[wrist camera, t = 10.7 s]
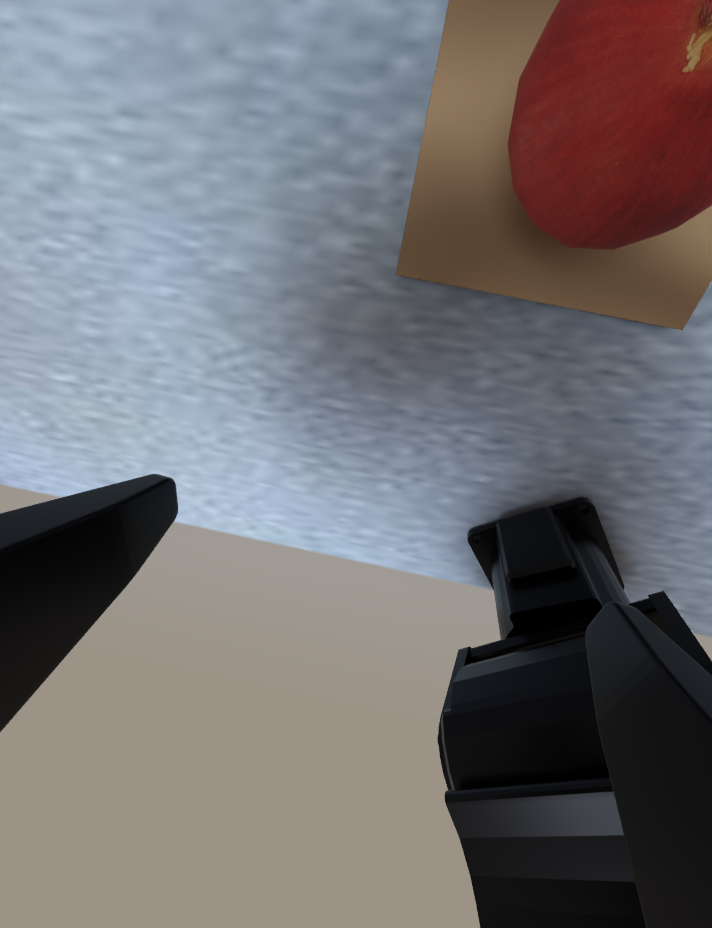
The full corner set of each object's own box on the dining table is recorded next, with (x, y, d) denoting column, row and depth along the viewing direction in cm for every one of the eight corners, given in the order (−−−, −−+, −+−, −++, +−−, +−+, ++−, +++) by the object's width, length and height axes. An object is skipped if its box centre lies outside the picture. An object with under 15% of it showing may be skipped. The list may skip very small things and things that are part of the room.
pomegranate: (704, -29, 10) (1313, -738, 3) (695, 213, 12) (1027, 138, 5) (480, 88, 12) (526, -168, 5) (508, 277, 14) (567, 285, 7)
